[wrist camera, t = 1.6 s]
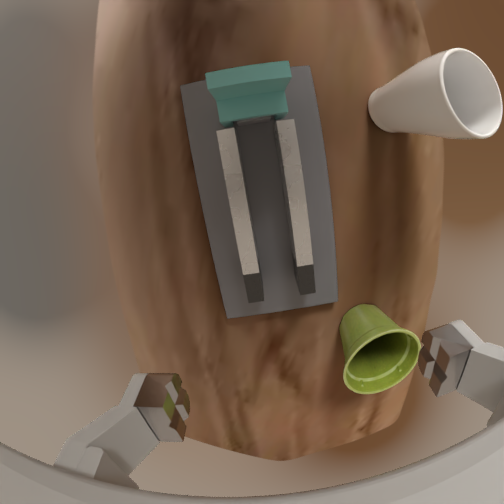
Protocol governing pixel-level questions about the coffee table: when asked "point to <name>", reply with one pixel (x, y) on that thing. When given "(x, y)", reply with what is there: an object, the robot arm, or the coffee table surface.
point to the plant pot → (375, 350)
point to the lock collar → (250, 91)
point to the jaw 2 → (295, 204)
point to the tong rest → (264, 198)
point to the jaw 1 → (241, 213)
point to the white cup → (440, 98)
